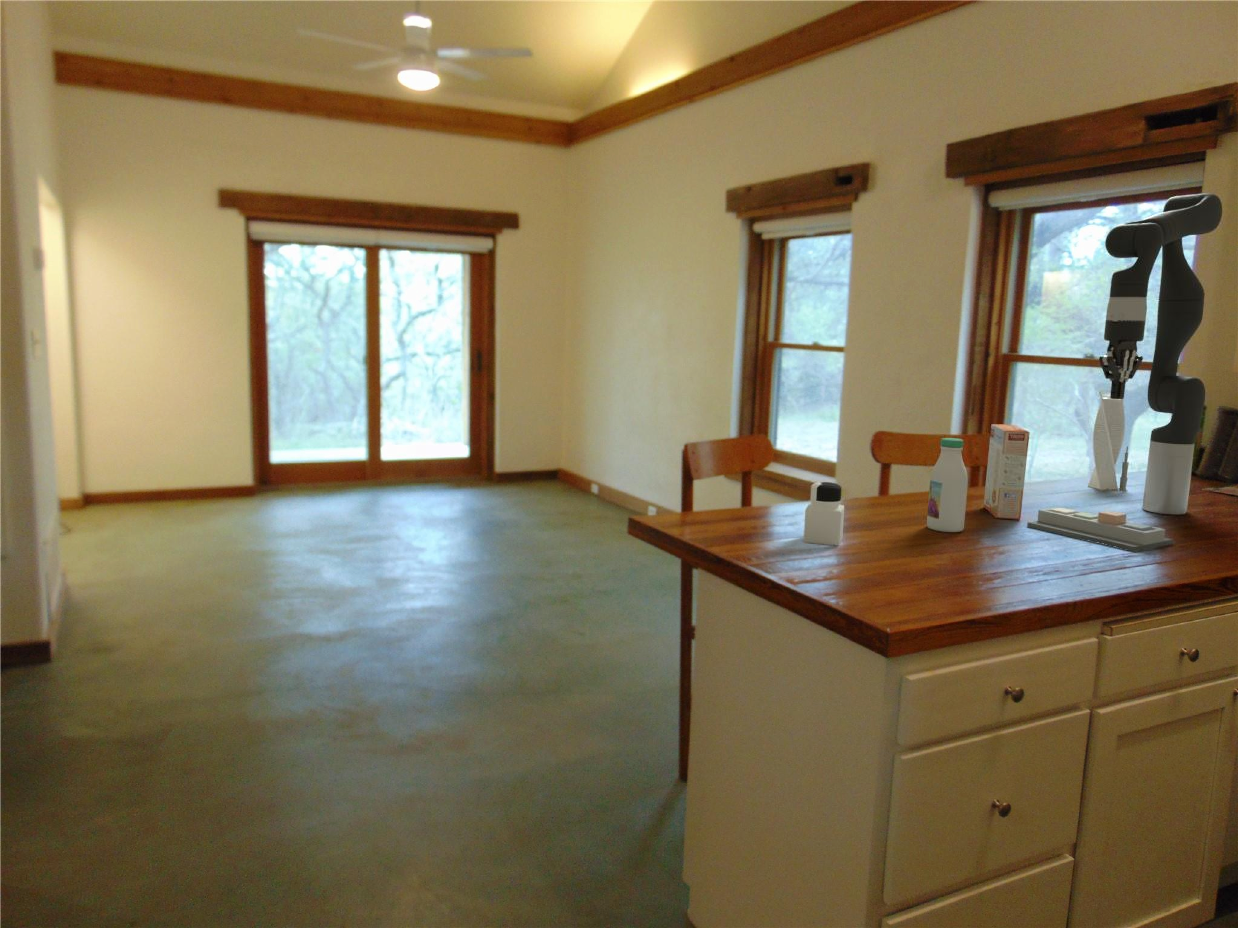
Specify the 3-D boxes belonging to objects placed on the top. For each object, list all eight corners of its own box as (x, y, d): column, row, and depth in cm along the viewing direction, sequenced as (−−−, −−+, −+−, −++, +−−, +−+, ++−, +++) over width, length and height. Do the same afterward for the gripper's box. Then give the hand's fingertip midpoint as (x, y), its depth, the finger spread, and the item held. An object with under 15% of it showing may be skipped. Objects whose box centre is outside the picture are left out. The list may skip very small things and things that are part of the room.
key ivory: (1059, 519, 200) (1061, 507, 200) (1075, 523, 197) (1076, 510, 196) (1049, 521, 198) (1050, 509, 198) (1065, 524, 195) (1066, 512, 195)
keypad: (1065, 520, 204) (1067, 505, 204) (1172, 544, 184) (1174, 527, 183) (1027, 526, 198) (1028, 511, 197) (1134, 551, 177) (1136, 534, 176)
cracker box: (1022, 520, 204) (1030, 430, 200) (994, 519, 205) (1002, 429, 201) (1008, 508, 217) (1016, 424, 214) (982, 506, 218) (990, 423, 215)
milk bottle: (964, 527, 196) (972, 438, 192) (962, 534, 189) (970, 442, 186) (928, 523, 199) (935, 435, 196) (924, 530, 192) (931, 439, 189)
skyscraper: (1101, 492, 242) (1112, 390, 237) (1080, 487, 250) (1090, 388, 245) (1127, 492, 243) (1139, 391, 239) (1106, 486, 251) (1116, 388, 247)
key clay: (1107, 523, 191) (1109, 510, 190) (1125, 526, 187) (1126, 514, 187) (1097, 525, 189) (1098, 512, 188) (1114, 528, 185) (1116, 515, 185)
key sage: (1082, 524, 195) (1084, 512, 195) (1099, 528, 192) (1100, 515, 192) (1072, 526, 194) (1073, 514, 193) (1088, 530, 190) (1090, 517, 190)
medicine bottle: (842, 538, 184) (846, 481, 182) (839, 546, 177) (842, 487, 175) (807, 535, 186) (810, 479, 184) (803, 542, 179) (806, 484, 177)
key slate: (1132, 535, 186) (1133, 522, 186) (1150, 539, 183) (1152, 526, 182) (1121, 537, 184) (1123, 524, 184) (1140, 541, 181) (1141, 528, 181)
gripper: (1126, 319, 197) (1117, 396, 200) (1090, 318, 190) (1082, 398, 193) (1160, 319, 191) (1151, 399, 193) (1125, 318, 184) (1115, 401, 187)
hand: (1116, 398), depth 193 cm, fingers closed
